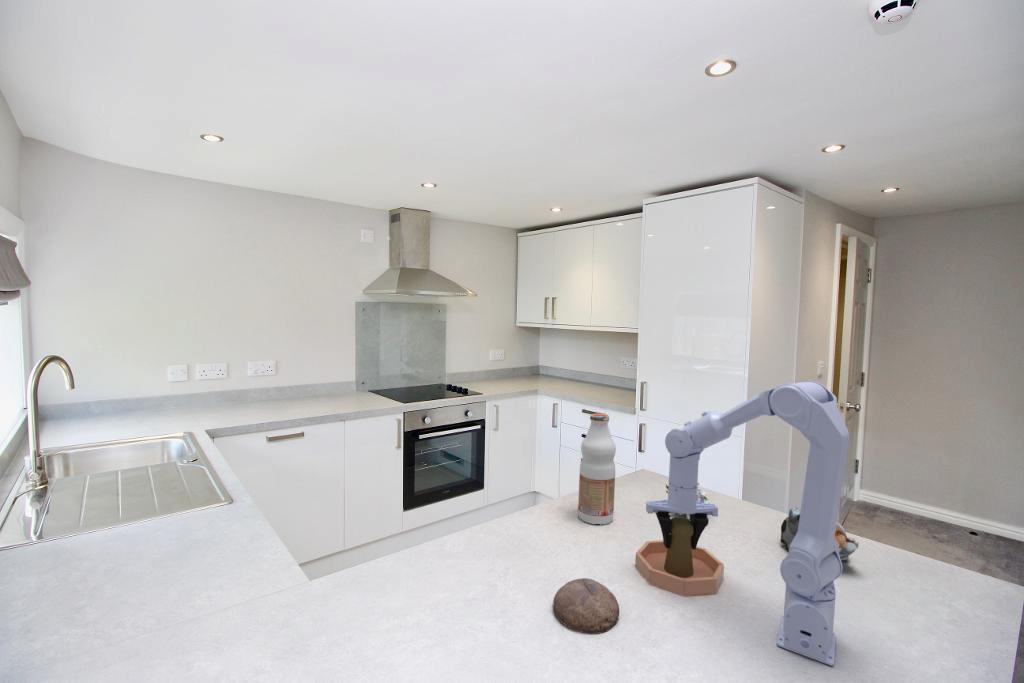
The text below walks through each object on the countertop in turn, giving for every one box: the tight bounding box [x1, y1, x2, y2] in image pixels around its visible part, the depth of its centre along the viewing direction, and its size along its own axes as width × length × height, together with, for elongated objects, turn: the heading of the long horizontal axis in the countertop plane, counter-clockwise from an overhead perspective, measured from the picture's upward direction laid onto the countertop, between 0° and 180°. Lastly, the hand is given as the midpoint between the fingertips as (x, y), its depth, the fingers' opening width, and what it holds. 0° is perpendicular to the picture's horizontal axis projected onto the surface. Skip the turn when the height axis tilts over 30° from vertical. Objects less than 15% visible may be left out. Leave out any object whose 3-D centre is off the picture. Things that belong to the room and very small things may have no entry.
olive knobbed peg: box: [664, 516, 694, 578], centre depth 102 cm, size 6×6×11 cm
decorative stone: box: [553, 577, 620, 634], centre depth 88 cm, size 12×12×6 cm
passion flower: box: [665, 482, 711, 521], centre depth 134 cm, size 11×11×12 cm
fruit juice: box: [577, 413, 617, 525], centre depth 128 cm, size 9×9×28 cm
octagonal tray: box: [634, 539, 725, 597], centre depth 103 cm, size 17×17×3 cm
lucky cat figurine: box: [780, 507, 860, 561], centre depth 110 cm, size 15×12×14 cm
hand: (679, 546), depth 102 cm, fingers closed on olive knobbed peg, 5 cm apart
